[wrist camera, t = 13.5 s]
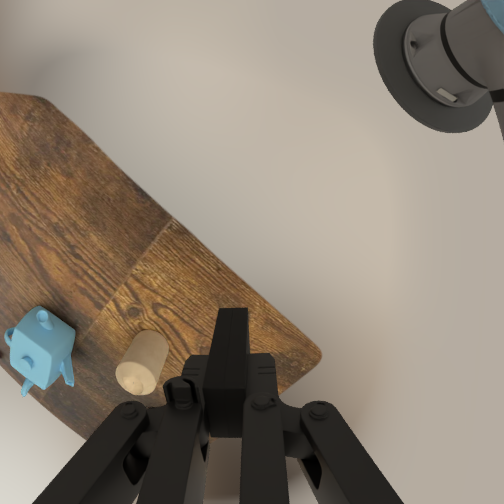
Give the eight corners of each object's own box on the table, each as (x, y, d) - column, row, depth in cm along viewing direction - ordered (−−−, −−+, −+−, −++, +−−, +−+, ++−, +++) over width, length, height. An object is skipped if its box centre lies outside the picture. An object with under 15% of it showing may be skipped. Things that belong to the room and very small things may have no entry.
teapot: (37, 272, 42) (-1, 297, 32) (107, 320, 44) (78, 356, 34) (21, 349, 46) (-7, 377, 37) (81, 390, 48) (58, 426, 39)
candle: (127, 336, 45) (103, 375, 35) (156, 323, 44) (135, 363, 35) (147, 364, 46) (129, 406, 37) (176, 353, 46) (161, 396, 36)
